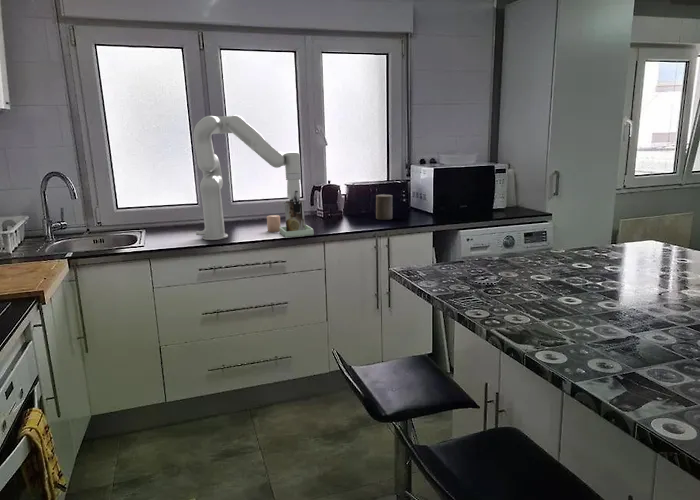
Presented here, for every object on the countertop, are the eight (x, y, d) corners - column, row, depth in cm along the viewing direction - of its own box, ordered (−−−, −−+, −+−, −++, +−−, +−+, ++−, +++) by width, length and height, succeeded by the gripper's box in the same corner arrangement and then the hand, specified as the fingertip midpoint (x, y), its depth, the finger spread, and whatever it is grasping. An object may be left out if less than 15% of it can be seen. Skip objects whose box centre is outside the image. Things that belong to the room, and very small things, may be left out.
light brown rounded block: (268, 232, 269) (267, 217, 267) (266, 230, 275) (265, 215, 274) (282, 231, 271) (281, 216, 269) (279, 229, 278) (278, 214, 276)
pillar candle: (378, 220, 295) (378, 194, 292) (374, 217, 304) (373, 192, 301) (394, 219, 298) (394, 193, 294) (389, 216, 307) (389, 191, 303)
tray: (285, 237, 254) (285, 231, 253) (279, 232, 268) (279, 227, 267) (313, 235, 258) (313, 229, 258) (306, 230, 272) (306, 224, 271)
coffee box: (305, 231, 266) (304, 200, 262) (303, 233, 260) (302, 202, 256) (288, 231, 267) (286, 200, 263) (286, 234, 260) (284, 202, 257)
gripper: (282, 175, 263) (284, 209, 267) (289, 178, 247) (291, 213, 251) (296, 175, 266) (298, 207, 269) (304, 177, 249) (306, 212, 253)
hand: (295, 210), depth 260 cm, fingers open, 9 cm apart
